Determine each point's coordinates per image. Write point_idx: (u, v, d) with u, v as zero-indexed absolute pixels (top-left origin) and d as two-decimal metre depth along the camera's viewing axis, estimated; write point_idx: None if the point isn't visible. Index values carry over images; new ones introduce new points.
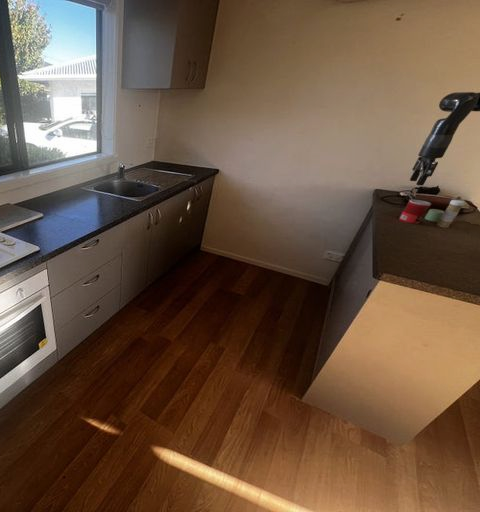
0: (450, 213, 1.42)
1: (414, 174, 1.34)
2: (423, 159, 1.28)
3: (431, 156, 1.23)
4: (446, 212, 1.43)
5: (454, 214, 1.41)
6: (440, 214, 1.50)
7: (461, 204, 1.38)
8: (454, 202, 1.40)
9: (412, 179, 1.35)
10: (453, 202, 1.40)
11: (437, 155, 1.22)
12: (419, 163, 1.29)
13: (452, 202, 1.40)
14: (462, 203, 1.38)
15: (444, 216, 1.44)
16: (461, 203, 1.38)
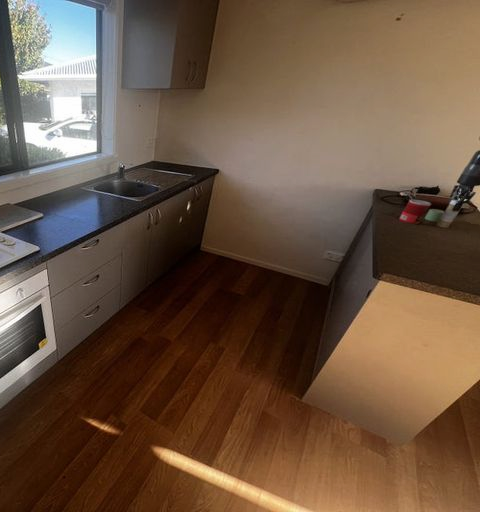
0: (450, 213, 1.42)
1: None
2: (461, 186, 1.38)
3: (470, 183, 1.33)
4: (446, 212, 1.43)
5: (454, 214, 1.41)
6: (440, 214, 1.50)
7: None
8: (454, 202, 1.39)
9: None
10: (453, 202, 1.40)
11: (476, 183, 1.32)
12: (457, 189, 1.39)
13: (452, 202, 1.40)
14: None
15: (444, 216, 1.44)
16: None
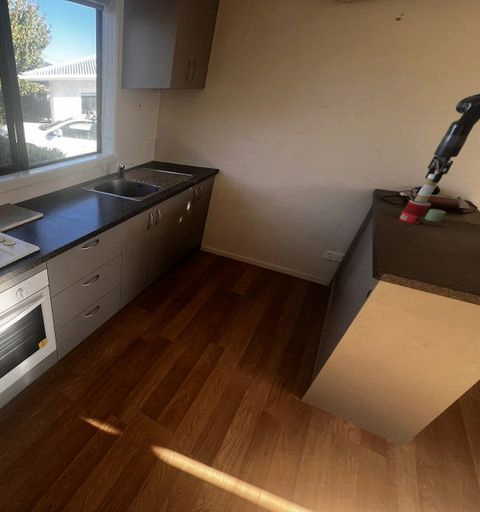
0: (427, 187, 1.41)
1: (429, 172, 1.43)
2: (438, 158, 1.38)
3: (446, 155, 1.33)
4: (424, 187, 1.43)
5: (431, 188, 1.41)
6: (440, 214, 1.50)
7: None
8: (432, 176, 1.39)
9: None
10: (430, 176, 1.40)
11: (452, 154, 1.32)
12: (435, 162, 1.39)
13: (429, 176, 1.40)
14: None
15: (422, 191, 1.43)
16: None
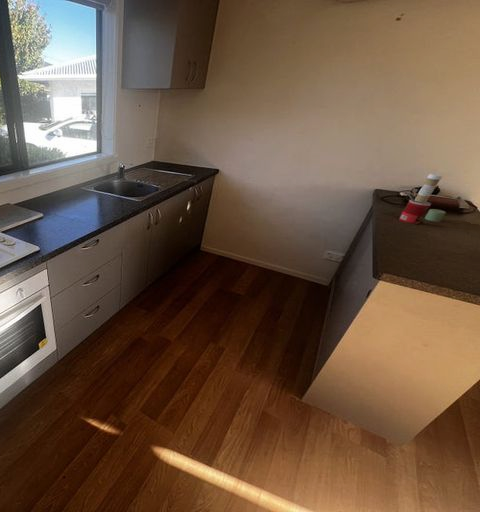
0: (427, 187, 1.41)
1: None
2: None
3: None
4: (424, 187, 1.43)
5: (431, 188, 1.41)
6: (440, 214, 1.50)
7: (438, 178, 1.38)
8: (432, 176, 1.39)
9: None
10: (430, 176, 1.40)
11: None
12: None
13: (429, 176, 1.40)
14: (439, 177, 1.38)
15: (422, 191, 1.43)
16: (438, 177, 1.38)
